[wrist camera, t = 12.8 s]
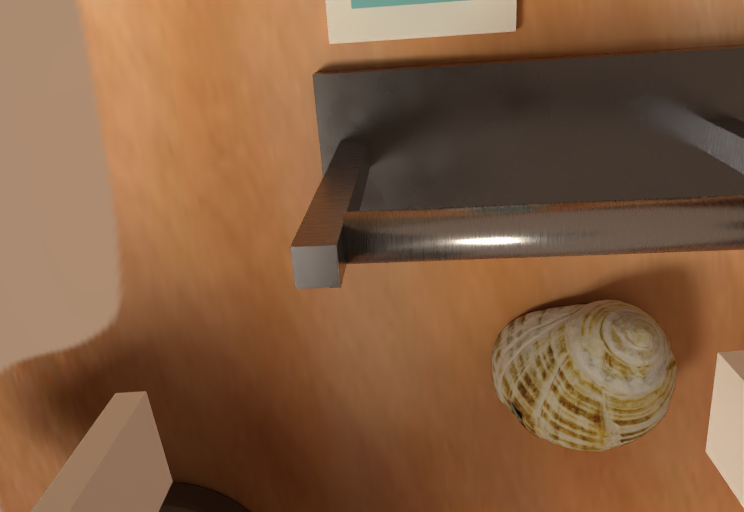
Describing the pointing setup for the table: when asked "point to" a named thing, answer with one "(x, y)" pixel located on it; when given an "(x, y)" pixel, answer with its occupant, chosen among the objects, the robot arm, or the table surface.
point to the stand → (526, 160)
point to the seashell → (585, 373)
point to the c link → (391, 2)
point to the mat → (418, 20)
